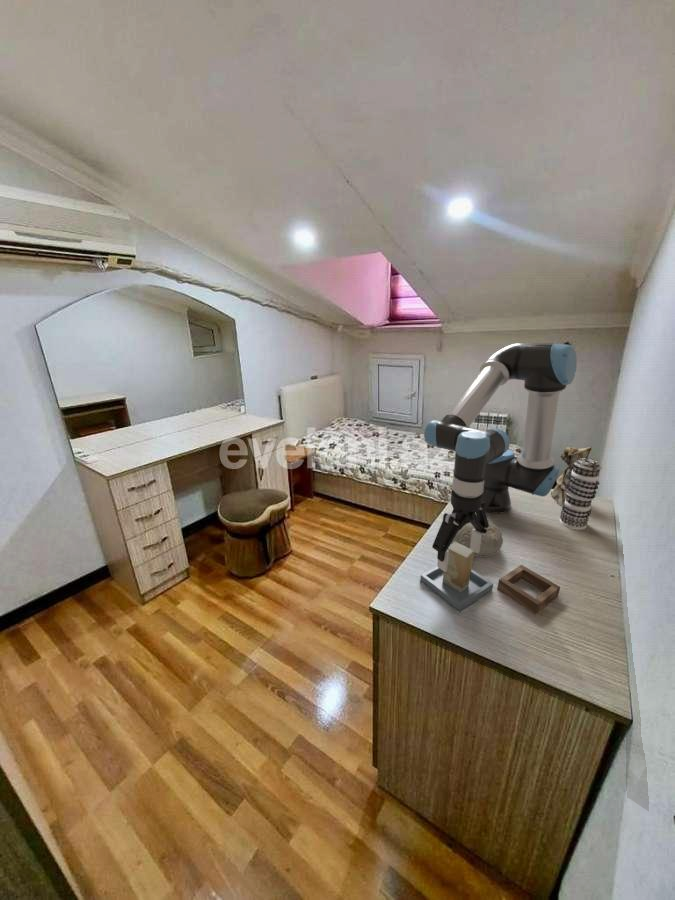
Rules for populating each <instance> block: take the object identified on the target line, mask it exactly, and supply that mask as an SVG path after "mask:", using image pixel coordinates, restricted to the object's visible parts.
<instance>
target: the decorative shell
mask: <svg viewBox="0 0 675 900" xmlns="http://www.w3.org/2000/svg"><path fill="white" fill-rule="evenodd" d="M487 520H488V524H489V527H488V528H484V529H486V530H487V532H486V533H483V532H482V539H481V545H480V552H479V553H476V552H474V556H475V557H481V558H486V557H490V556H493V555H496V554H497V553H498V552H499V551H500V550H501V548H502V545H503V543H504V538H503V533H502V532H501V531H500V529H499V528H498V527H497V525H496V524H495V523H494V522H493V521H491V520H490V519H487ZM454 524H456V525H459V524H457V523H456V522H454ZM473 529H475V528H474V526H473V525H472V524H471V522H470V523H467V524H465V525H464V526H463V527H462V529H461V530H459V531H458V532H457V534H456V535H455V537H454V539H453V541H452V542H451V544H452V543H453V542H457V543H459V544H461V545H463V546H466V547H467V548H469V549H470V543H471V535H472V530H473ZM475 530H476V529H475ZM451 544H450V545H451Z"/></svg>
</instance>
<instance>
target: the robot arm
mask: <svg viewBox="0 0 675 900" xmlns="http://www.w3.org/2000/svg"><path fill="white" fill-rule="evenodd" d="M577 359H578V357H577V351H576V350H575V348H574V346H572V345H571V344H563V343H562V344H561V343H557V342H556V343H551V342H550V343H549V342H543V343H541V342H517V343H512V344H509V345H506V346H505V347H503V348H500V349H499V350H497V351H495V352H494V353H493V354H492V355H490V356H488V357H487V359H486V360H485V361H484V362H483V363H482V365H481V366H480V368H479V373H478V374H477V375H476V377H475V378H474V380H473V381H472V382H471V383H470V384H469V385H468V387H467V388H466V389H465V391H464V392H463V393H462V395H461V396H460V397H459V398H458V399H457V401H456V402H455V404H453V406H452V407H451V408H450V410H448V411H447V413H446V414H445V415H444V416H443V418H442V419H441V420H438V419H437V420H434V419H433V420H430V421H429V422H428V423H427V424H426V426H425V428H424V433H423V437H424V438H423V439H424V441H425V443H426V444H427V445H430V446H433V447H435V448H437V449H443V450H447V451H452V452H455V454H454V467H453V468H454V469H453V474H452V475H453V478H452V485H451V491H450V492H451V494H450V504H451V506H452V508H453V509H452V512H451V513H450V514H449V513H446V512H444V514H443V517H442V522H441V524H440V525H439V526H440V527H439V529H438V531H437V533H436V537H435V538H434V541H433V543H432V549H434V550H435V551H437V555H436V557H437V564H436V566H437V567H439V568H440V569H441V570H443V571H444V572H446V571H447V566H448V557H449V550H447V549H448V547H449V546H450V545H451V542H452V541H453V539H454V537H455V535H456V534H457V532H458V531H459V530H461V529H462V527H463V526H464V525H465V524H467V523H470V522H471V524H472V525H473V526H474V528H475V529H476V530H475V529H473V530H472V535H471V543H470V549H471V550H474V551H475V552H476V553H479V552H480V545H481V539H482V532H483V533H486V532H487V530H486V529H484V528H488V527H489V524H488V520H489V519H488V517H487V516H488V515H487V513H491V514H503V513H507V512H508V511H510V509H511V506H512V505H511V504H512V500H511V496H510V491H509V488H513V489H515V490H518V491H521V492H525V493H528V494H531V495H535V496H538V497H546V496H547V495H549V493H551V490H552V489H553V487H554V484H555V483H556V480H557V479H558V475H559V472H560V469H559V467H558V466H556V465H555V460H554V458H553V457H552V456H551V452H552V451H551V450H552V444H553V438H554V431H555V425H556V418H557V410H558V405H559V399H560V398H559V397H560V393H562V392H564V391H565V390H566V388H567V386H569V385H571V384H572V383H573V381H574V380H575V377H576V371H577V366H578V365H577V364H578V363H577ZM509 380H519V381H524V386H523V387H524V388H523V389H525V390H526V391H527V393H528V397H527V407H526V415H525V423H524V435H523V444H522V452H521V453H519V454H518V455H517V456H515V451H513V450H511V449H509V448H510V445H511V443H510V437H509V435H508V434H507V433H506V432H505V431H504V430H502V429H500V428H490V429H486V430H484V429H479V428H474V427H470V426H471V425H472V423H473V422H474V421H475V420H476V418H477V417H478V416H479V414H480V413H481V412H482V410H483V409H484V408H485V406H486V405H487V404H488V403H489V401H490V400H491V399H492V397H493V396H494V394H495V393H496V392H497V390H498V389H499V388H500V387H501V386H503V385H505V384H507V382H509ZM454 522H456V523H457V524H459V525H456V524H454Z"/></svg>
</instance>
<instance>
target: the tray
mask: <svg viewBox="0 0 675 900" xmlns="http://www.w3.org/2000/svg"><path fill="white" fill-rule="evenodd" d="M443 574H444V571H443V570H441V569H440V568H439V567H437V565H436V566H434V567H433V568H431V569H429V570H427V571H424V572H423V573H421V574H420V579H419V580H420V583H422V585H424V586H425V587H427V588H428V589H429V590H430V591H431V592H433V593H434V594H435V595H437V597H439V598H441V600H442V601H444V602H445V603H446V604H448V605H449V606H451V607H452V608H453V609H454V610H455V611H456V612H458V613H461V612H463V611H464V610H466V609H467V608H469V607H470V606H471V605H474V604H475V603H476V602H478V601H479V600H480V599H482V598H483V597H485V596H487V595H488V594H489V593H491V592H492V591H493V589H494V582H492V581H491V580H490V579H488V578H486V577H484V576H483V575H481V574H480V573H478V572H477V571H475V570H473V569H471V575H470V580H469V586H468V587H467V588H466V589H465V590H464V591H463V592H462V593H461V592H459V591H457V590H455V589H454V588H452V587H450V586H449V585H447V584H445V583H444V582H443Z"/></svg>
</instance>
